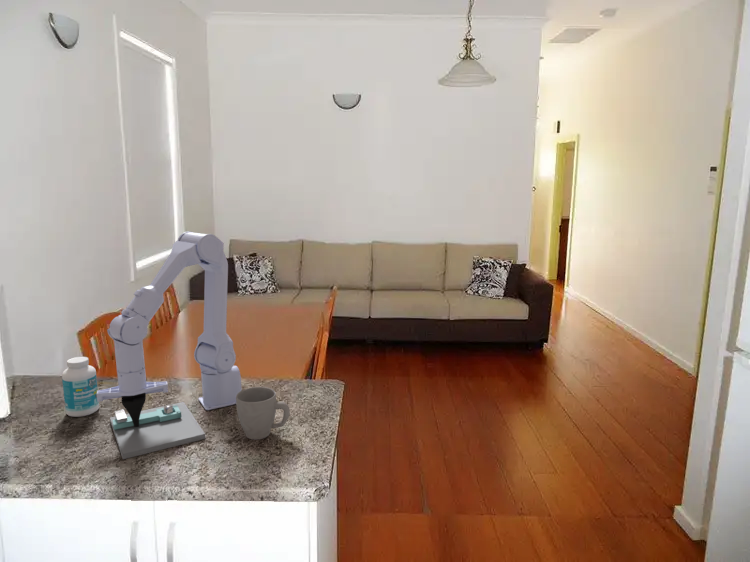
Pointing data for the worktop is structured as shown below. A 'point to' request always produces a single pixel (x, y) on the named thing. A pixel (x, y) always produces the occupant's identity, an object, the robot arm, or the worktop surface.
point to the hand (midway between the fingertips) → (136, 425)
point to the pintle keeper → (122, 416)
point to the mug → (259, 411)
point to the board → (158, 433)
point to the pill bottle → (80, 387)
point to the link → (150, 417)
